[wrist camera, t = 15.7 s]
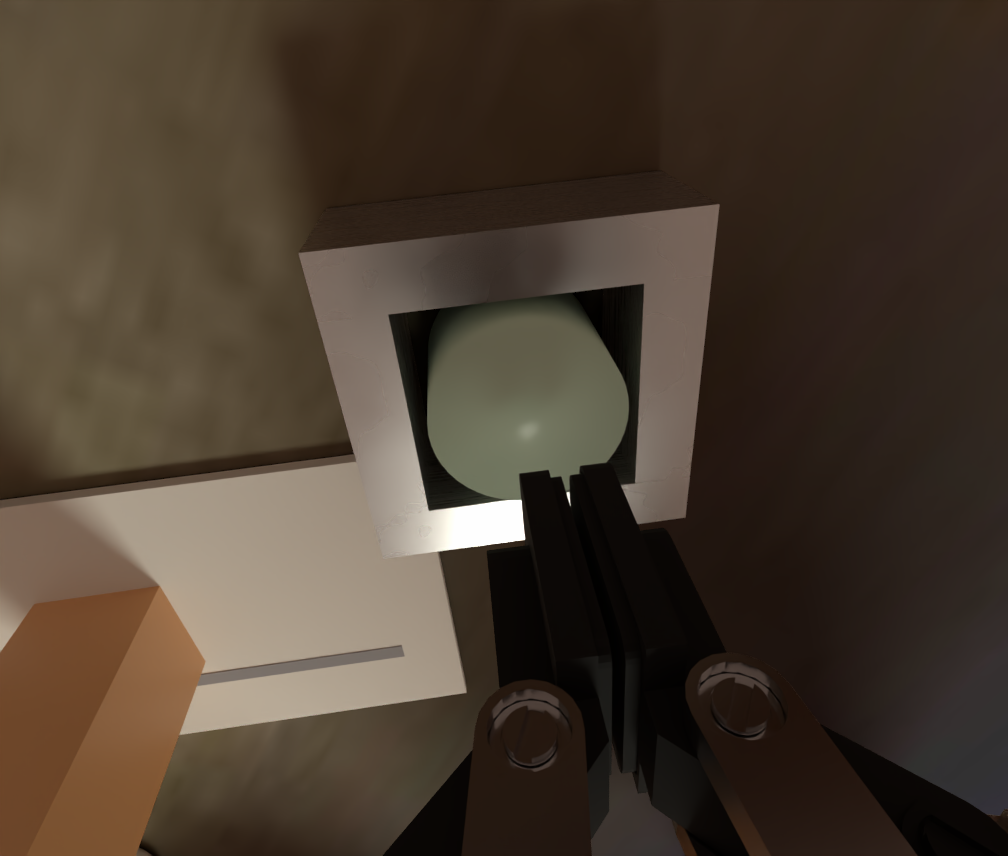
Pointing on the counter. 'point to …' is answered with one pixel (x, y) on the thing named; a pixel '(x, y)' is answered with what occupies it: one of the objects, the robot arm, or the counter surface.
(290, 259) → the counter surface
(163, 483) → the sketch pad
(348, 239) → the button collar
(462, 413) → the button
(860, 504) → the counter surface
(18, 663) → the brown box
